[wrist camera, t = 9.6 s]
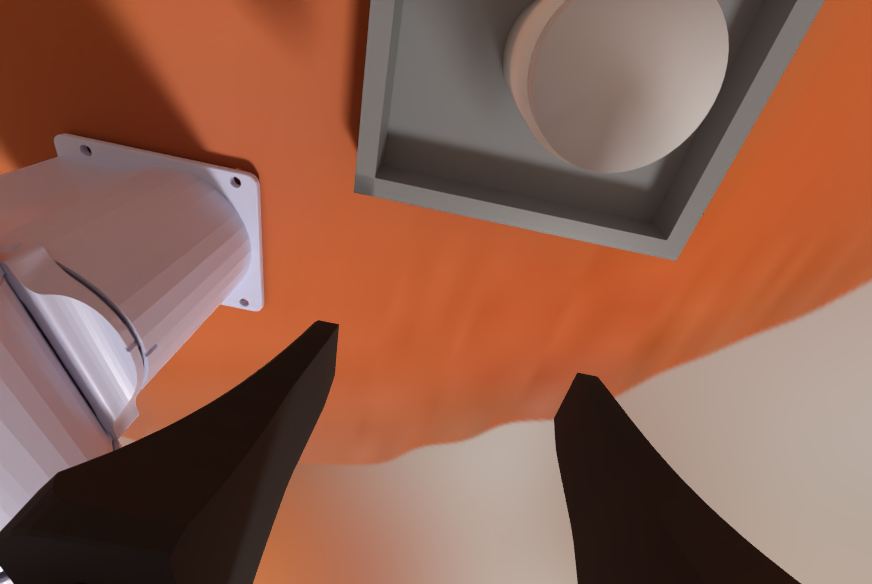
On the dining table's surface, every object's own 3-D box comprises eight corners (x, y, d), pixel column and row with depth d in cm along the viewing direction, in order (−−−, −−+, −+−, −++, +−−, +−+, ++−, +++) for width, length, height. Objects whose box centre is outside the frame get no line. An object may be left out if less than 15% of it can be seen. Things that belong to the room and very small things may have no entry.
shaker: (494, 113, 17) (507, 170, 10) (513, -19, 15) (548, -60, 8) (601, 125, 17) (687, 190, 10) (638, -7, 15) (782, -38, 8)
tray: (367, 174, 20) (353, 192, 18) (404, -196, 13) (391, -238, 11) (655, 236, 20) (675, 260, 18) (827, -93, 14) (890, -115, 12)
